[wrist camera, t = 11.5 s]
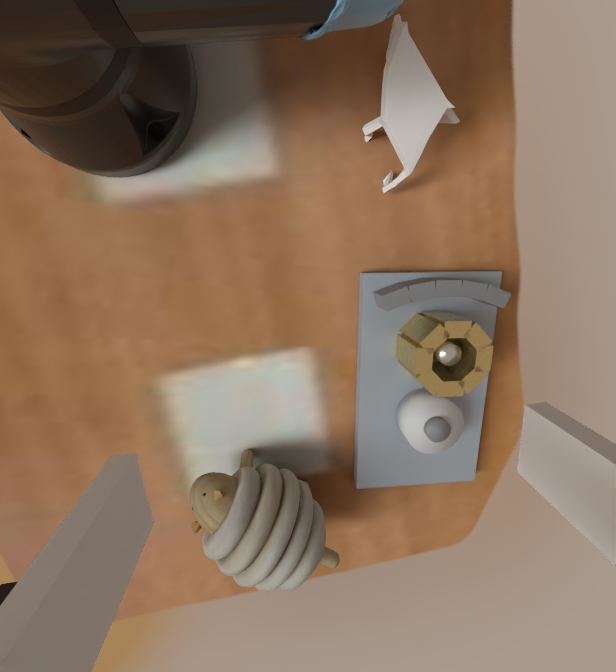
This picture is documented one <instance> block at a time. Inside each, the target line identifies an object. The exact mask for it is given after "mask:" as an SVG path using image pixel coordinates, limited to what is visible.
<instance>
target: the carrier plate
mask: <svg viewBox="0 0 616 672" xmlns="http://www.w3.org/2000/svg"><path fill="white" fill-rule="evenodd" d="M501 278H502V271H428V272H360V286H359V319H358V352H357V385H356V417H355V450H354V483H355V486H356V489H365V488H379V487H392V486H406V485H420V484H434V483H447V482H461V481H474V480H475V473H476V465H477V458H478V450H479V443H480V435H481V428H482V420H483V413H484V405H485V398H486V390H487V383H488V375H489V371H486V372H485V373H486V374H487V377H486V378H485V379H484V380H483V381H482V382H481V383H479V384H478V385H477V386H476V387H475V388H474V389H473V390H472V391H471V392H470V393H468V394H467V393H466V392H464V393H463V396H455V397H437V396H436V395H434V396H433V395H432V394H431V393H430V392H429V391H428V390H427V389H426V388H424V387H423V386H422V385H421V384H420V383H419V382H418V381H417V380H416V379H415V378H414V377H412V376H411V375H410V374H409V373H408V372H407V371H406V370H405V369H404V368H403V367H402V366H401V365H400V364H399V363H398V362H397V360H398V359H397V358H396V340H397V334H402V333H401V332H400V331H399V330H400V329H401V328H402V327H403V326H404V325H405V324H406V323H407V322H408V321H409V320H410V319H411V318H412V317H413V316H414V315H415V314H416V313H417V314H419V315H420V313H421V311H446V312H449V313H451V314H454V315H457V316H460V317H463V318H465V319H468V320H471V321H473V322H476V323H477V324H478V325H479V326H480V327H481V329H482V330H483V331H484V332H485V333H486V334H487V335H488V337H489V338H490V339H491V340H492V342H491V343H490V344H491V345H493V338H494V330H495V323H496V315H497V308H498V307H499V308H503V309H504V308H505V306H506V304H507V302H508V300H509V298H510V296H511V294H512V293H509V292H507V291H504V290H502V289H500V285H501ZM448 339H449V338H448ZM448 339H446V340H447V341H448ZM437 361H438V360H437V359H435V358H434V357H433V362H432V363H436V362H437Z"/></svg>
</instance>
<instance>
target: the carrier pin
mask: <svg viewBox="0 0 616 672" xmlns="http://www.w3.org/2000/svg"><path fill="white" fill-rule="evenodd" d="M433 357H434V358H435V359H437V360H438V361H440V362H441V363H443V364H444V365H447V366H451V365H454V364H456V363H457V362H458V361H459V360H460V358H461V349H460V348H459V347H458V346H457V345H455V344H453V343H451V342H449V341H447V340H445V341H444V342H443V343H442V344H441V345H440V346H439V347H438V348H437V349H436V350H435V351H434V352H433Z"/></svg>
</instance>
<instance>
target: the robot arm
mask: <svg viewBox="0 0 616 672" xmlns="http://www.w3.org/2000/svg"><path fill="white" fill-rule="evenodd" d="M403 1H404V0H0V110H1V111H2V113H3V114H4V115H5V117H6V118H7V119H8V120H9V122H10V123H11V124H12V125H13V126H14V127H15V128H16V129H17V130H18V131H19V132H20V133H21V134H22V135H23V136H24V137H25V138H26V139H27V140H28V141H29V142H31V143H32V144H33V145H34V146H36V147H37V148H39V149H40V150H41V151H43V152H44V153H46V154H47V155H49V156H51V157H52V158H54V159H56V160H58V161H60V162H62V163H65V164H67V165H69V166H72V167H74V168H76V169H79V170H81V171H84V172H87V173H90V174H94V175H99V176H106V177H126V176H132V175H137V174H140V173H143V172H146V171H148V170H151V169H153V168H154V167H156V166H158V165H159V164H161V163H162V162H164V161H165V160H166V159H167V158H169V157H170V156H171V155H172V154H173V153H174V152H175V150H176V149H177V148H178V147H179V145H180V144H181V142H182V141H183V139H184V138H185V136H186V134H187V132H188V130H189V127H190V125H191V122H192V119H193V115H194V111H195V105H196V95H197V84H196V72H195V67H194V62H193V58H192V54H191V51H190V48H189V45H188V44H197V43H211V42H226V41H241V40H256V39H271V38H285V37H300V38H302V39H303V40H314V39H317V38H319V37H321V36H323V35H324V34H325V33H326V32H333V31H340V30H347V29H354V28H361V27H368V26H372V25H375V24H377V23H380V22H382V21H384V20H385V19H387V18H388V17H390V16H391V15H392V14H393V13H394V12H395V11H396V10H397V9H398V8H399V6H400V5H401V4H402V3H403ZM517 472H518V473H519V474H520V475H521V476H522V477H523V478H525V479H526V480H527V481H528V482H529V483H530V484H531V485H532V486H533V487H534V488H535V489H536V490H537V491H538V492H539V493H540V494H541V495H542V496H543V497H544V498H545V499H546V500H547V501H549V502H550V503H551V504H552V505H553V506H554V507H555V508H556V509H557V510H558V511H559V512H560V513H561V514H562V515H563V516H564V517H565V518H566V519H567V520H569V522H571V523H572V524H573V525H574V526H575V527H576V528H577V529H578V530H579V531H580V532H581V533H582V534H583V535H584V536H585V537H586V538H587V539H588V540H589V541H590V542H592V544H593V545H595V546H596V547H597V548H598V549H599V550H600V551H601V552H602V553H603V554H604V555H605V556H606V557H607V558H608V559H609V560H610V561H611V562H612V563H613V564H614V565H615V566H616V444H614V443H613V442H611V441H609V440H608V439H606V438H604V437H603V436H601V435H599V434H598V433H596V432H595V431H593V430H591V429H590V428H588V427H586V426H585V425H583V424H581V423H579V422H578V421H576V420H575V419H573V418H571V417H570V416H568V415H566V414H565V413H563V412H561V411H560V410H558V409H556V408H555V407H553V406H551V405H550V404H548V403H546V402H543V403H535V404H527V405H525V410H524V418H523V426H522V434H521V443H520V451H519V459H518V469H517ZM153 523H154V520H153V516H152V512H151V509H150V505H149V501H148V497H147V493H146V490H145V486H144V482H143V478H142V474H141V471H140V467H139V463H138V459H137V455H136V453H133V454H125V455H117V456H111V457H110V458H109V460H108V461H107V462H106V464H105V465H104V466H103V468H102V469H101V470H100V472H99V473H98V475H97V476H96V477H95V479H94V480H93V481H92V483H91V484H90V485H89V487H88V488H87V489H86V491H85V492H84V493H83V495H82V496H81V497H80V499H79V500H78V502H77V503H76V504H75V506H74V507H73V508H72V510H71V511H70V512H69V514H68V515H67V516H66V518H65V519H64V520H63V522H62V523H61V524H60V526H59V527H58V529H57V530H56V531H55V533H54V534H53V535H52V537H51V538H50V539H49V541H48V542H47V543H46V545H45V546H44V547H43V549H42V550H41V551H40V553H39V554H38V555H37V557H36V558H35V560H34V561H33V562H32V564H31V565H30V566H29V568H28V569H27V570H26V572H25V573H24V574H23V576H22V577H21V578H20V580H19V581H18V582H13V583H6V584H2V585H0V672H91V671H92V669H93V667H94V664H95V662H96V659H97V657H98V655H99V652H100V650H101V647H102V645H103V643H104V640H105V638H106V636H107V633H108V631H109V628H110V626H111V623H112V621H113V619H114V616H115V614H116V612H117V609H118V607H119V604H120V602H121V600H122V597H123V595H124V593H125V590H126V588H127V585H128V583H129V581H130V578H131V576H132V573H133V571H134V569H135V566H136V564H137V561H138V559H139V557H140V554H141V552H142V549H143V547H144V545H145V542H146V540H147V538H148V535H149V533H150V530H151V528H152V526H153Z"/></svg>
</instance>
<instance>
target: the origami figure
mask: <svg viewBox="0 0 616 672" xmlns="http://www.w3.org/2000/svg"><path fill="white" fill-rule="evenodd" d="M451 108H455V107H454V106H453V105H452V104H451V103H450V102H449V101H448V100H447V99H446V97H445V95H444V94H443V92H442V90H441V88H440V87H439V85H438V83H437V81H436V80H435V78H434V76H433V74H432V73H431V71H430V69H429V67H428V66H427V64H426V62H425V61H424V59H423V57H422V55H421V54H420V52H419V50H418V48H417V47H416V45H415V43H414V41H413V40H412V38H411V36H410V34H409V33H408V24H407V22H402V20H401V16H400V14H397V15H395V16H394V19H393V24H392V29H391V34H390V39H389V43H388V48H387V53H386V64H385V68H384V72H383V84H382V98H381V116H380V117H378V118H376V119H375V120H373V121H371V122H369V123H367V124H365V125H364V127H363V128H362V129H363V132H364V134H365V137H364V138H365V140H366V143H367V142H368V141H369V140H370V139H371V138H372V137H373V131H375V130H377V129H378V128H380V127H382V126H383V128H384V130H385V131H386V133H387V135H388V137H389V139H390V141H391V143H392V145H393V147H394V149H395V151H396V153H397V155H398V157H399V159H400V161H401V163H402V165H403V167H404V169H403V170H402V172H401V173H400V174H399V176H398V177H397V178H396V179H395V180H394V181H392V178H393V173H392V171H391V172H390V173H389V174H388V175H387V176H386V178H385V179H384V180H383V183H384V186H383V188H382V189H383V193H386V192H389V191H390V190H391V189H392V188H394V187H395V186H396V185H397V184H399V183H400V182H401V181H402V180H403V179H404V178H405V177H407V176H409V175H410V174H411V172H412V171H413V169H414V167H415V165H416V163H417V161H418V160H419V158H420V156H421V154H422V151H423V149H424V147H425V145H426V143H427V141H428V139H429V137H430V135H431V134H432V132H433V130H434V129H435V127H436V125H437V124H438V123H448V124H456V123H458V122H460V120H459V119H458V117H457V116H456V114H455V112H454V111H453V110H452V109H451ZM391 181H392V182H391Z"/></svg>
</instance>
